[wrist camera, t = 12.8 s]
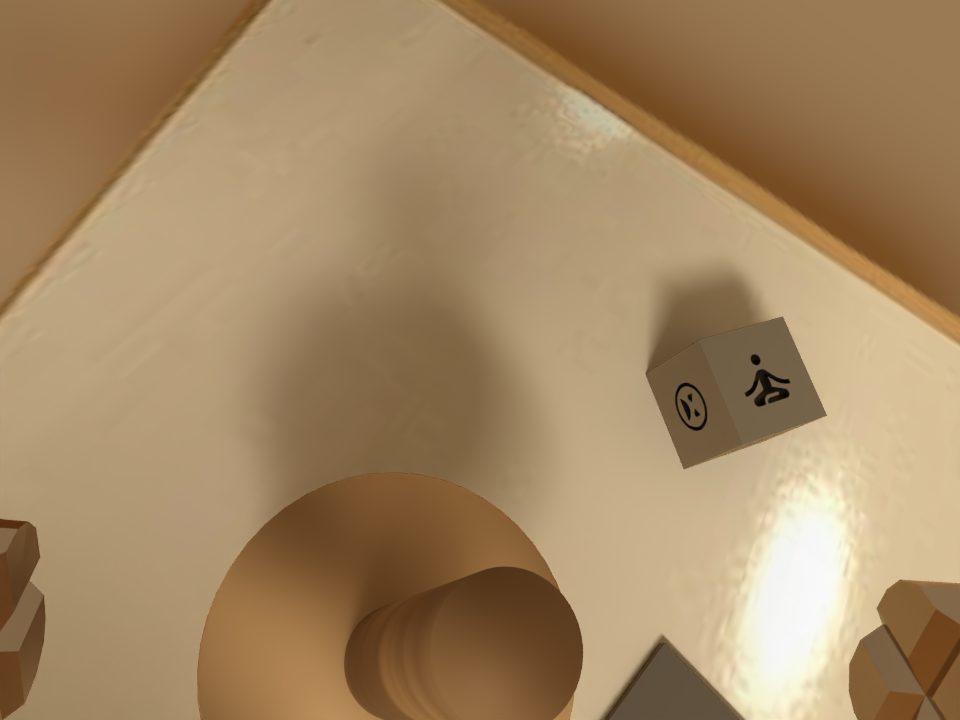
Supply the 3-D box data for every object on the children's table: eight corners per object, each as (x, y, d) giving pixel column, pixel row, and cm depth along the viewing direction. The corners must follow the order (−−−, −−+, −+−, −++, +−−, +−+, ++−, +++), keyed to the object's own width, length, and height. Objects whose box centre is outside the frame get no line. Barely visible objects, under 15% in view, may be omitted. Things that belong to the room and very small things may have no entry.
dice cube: (683, 469, 44) (742, 444, 40) (644, 374, 45) (698, 339, 41) (761, 441, 46) (827, 415, 42) (723, 351, 47) (782, 316, 43)
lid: (395, 967, 24) (535, 1127, 15) (108, 675, 24) (82, 666, 15) (626, 652, 29) (831, 635, 20) (387, 409, 29) (489, 287, 20)
